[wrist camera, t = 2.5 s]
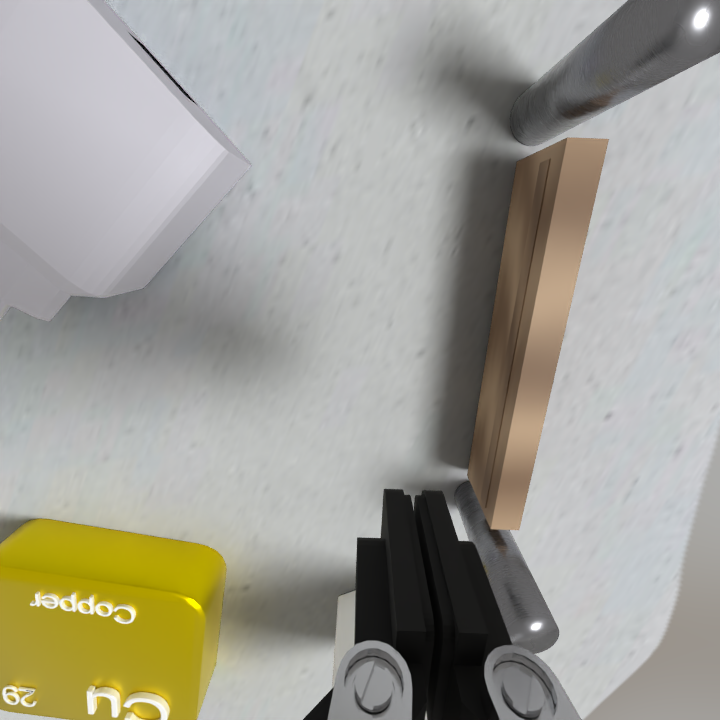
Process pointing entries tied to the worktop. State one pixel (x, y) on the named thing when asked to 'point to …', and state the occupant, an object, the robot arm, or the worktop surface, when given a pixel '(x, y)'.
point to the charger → (95, 157)
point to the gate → (530, 319)
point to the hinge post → (617, 64)
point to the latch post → (508, 578)
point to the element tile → (106, 623)
